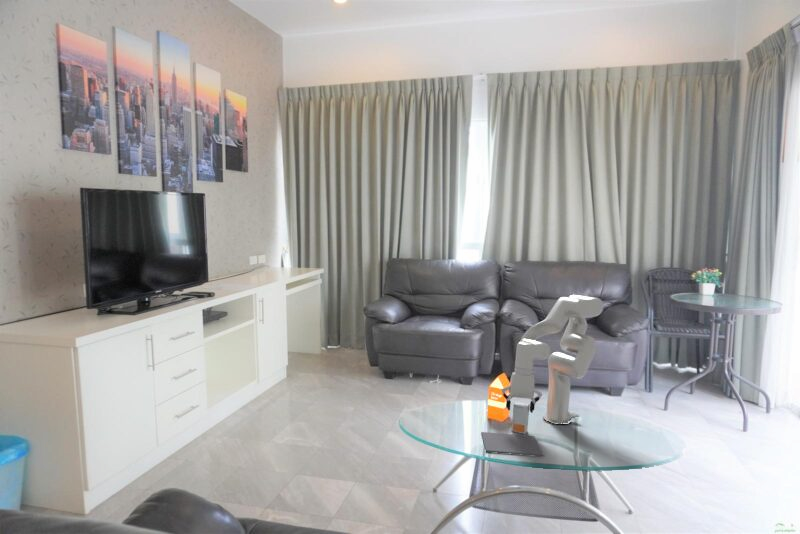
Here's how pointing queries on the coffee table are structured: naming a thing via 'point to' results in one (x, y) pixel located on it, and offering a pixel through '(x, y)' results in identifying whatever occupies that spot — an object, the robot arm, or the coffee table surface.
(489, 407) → the orange juice
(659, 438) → the coffee table surface
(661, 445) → the coffee table surface
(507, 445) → the mat
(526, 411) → the skincare box
